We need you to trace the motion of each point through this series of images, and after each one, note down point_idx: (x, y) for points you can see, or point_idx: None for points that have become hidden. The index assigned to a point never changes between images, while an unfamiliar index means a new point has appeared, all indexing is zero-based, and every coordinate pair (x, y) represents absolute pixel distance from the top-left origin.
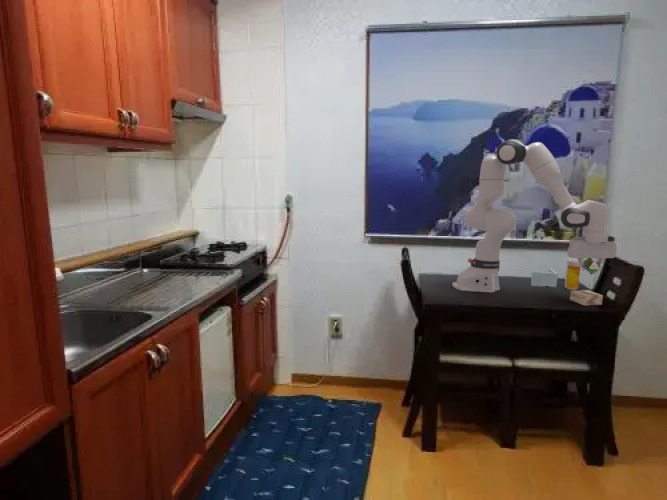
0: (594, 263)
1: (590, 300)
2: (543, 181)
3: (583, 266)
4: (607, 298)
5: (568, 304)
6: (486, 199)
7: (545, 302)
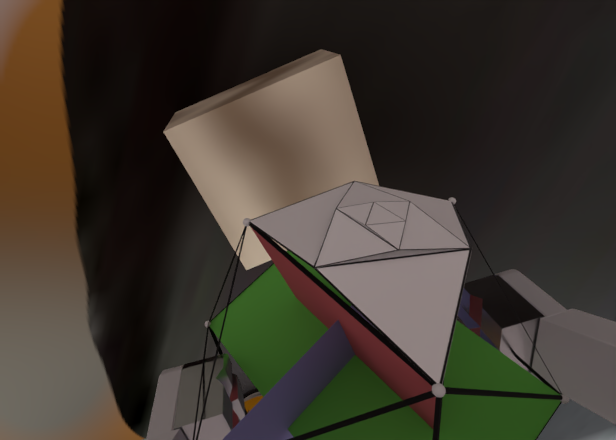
0: (398, 291)
1: (278, 74)
2: None
3: (500, 291)
4: (97, 288)
5: (428, 50)
6: None
7: (559, 67)
